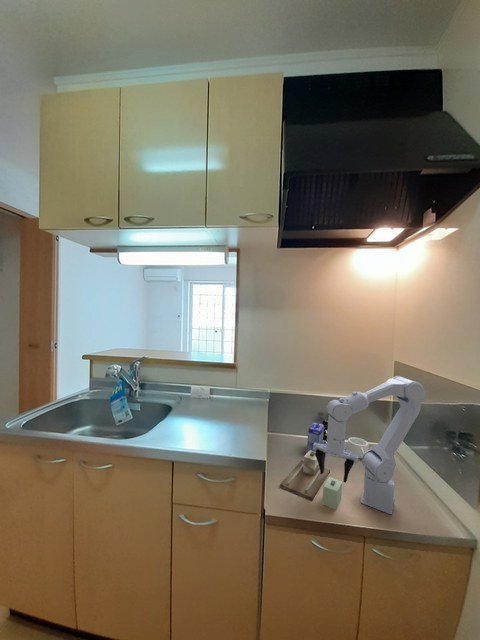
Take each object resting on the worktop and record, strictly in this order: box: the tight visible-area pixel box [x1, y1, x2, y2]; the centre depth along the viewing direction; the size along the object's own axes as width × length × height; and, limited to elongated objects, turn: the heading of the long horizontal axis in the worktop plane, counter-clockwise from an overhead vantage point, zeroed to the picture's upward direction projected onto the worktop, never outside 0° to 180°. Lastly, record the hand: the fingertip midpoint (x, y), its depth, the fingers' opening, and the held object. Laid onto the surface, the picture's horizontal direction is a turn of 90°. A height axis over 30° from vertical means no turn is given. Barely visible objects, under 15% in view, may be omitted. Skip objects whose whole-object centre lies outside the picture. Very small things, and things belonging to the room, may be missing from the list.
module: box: [321, 476, 343, 511], centre depth 94 cm, size 4×7×7 cm, turn 147°
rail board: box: [279, 450, 331, 501], centre depth 106 cm, size 12×22×8 cm, turn 147°
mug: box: [345, 436, 369, 459], centre depth 128 cm, size 12×10×6 cm
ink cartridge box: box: [305, 421, 325, 455], centre depth 128 cm, size 10×6×14 cm, turn 152°
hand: (333, 476), depth 94 cm, fingers open, 7 cm apart
